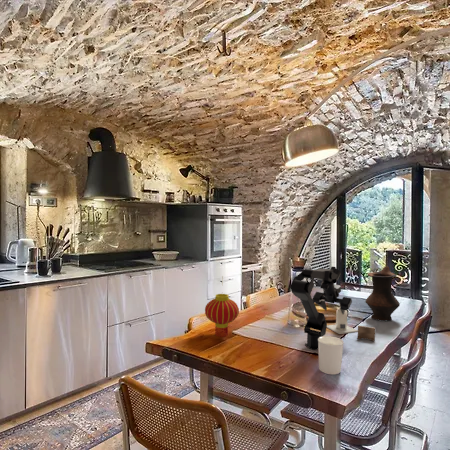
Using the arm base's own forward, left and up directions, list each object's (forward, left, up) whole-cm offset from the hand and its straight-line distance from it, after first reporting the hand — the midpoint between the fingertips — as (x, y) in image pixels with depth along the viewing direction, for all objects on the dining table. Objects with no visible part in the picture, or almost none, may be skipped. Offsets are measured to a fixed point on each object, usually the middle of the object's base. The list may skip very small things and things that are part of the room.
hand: (334, 311), depth 183 cm
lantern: (-56, +16, -11) cm, 60 cm away
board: (+8, +4, -11) cm, 14 cm away
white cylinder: (-28, -34, -11) cm, 46 cm away
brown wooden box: (+11, -11, -11) cm, 19 cm away
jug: (+44, +12, -11) cm, 47 cm away
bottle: (+8, +4, -11) cm, 14 cm away
